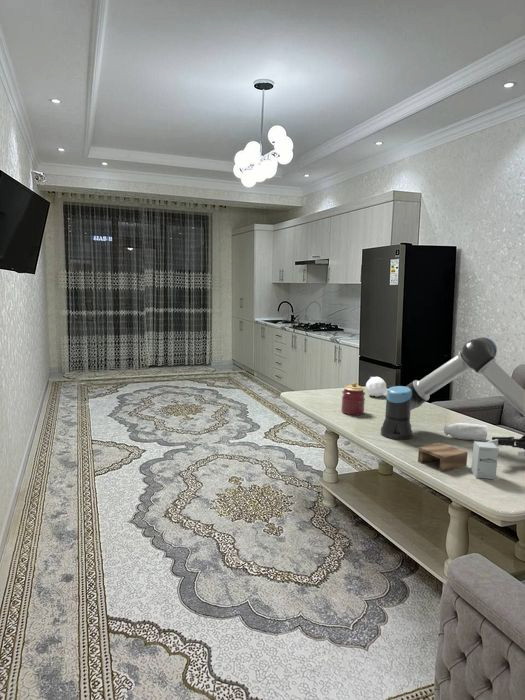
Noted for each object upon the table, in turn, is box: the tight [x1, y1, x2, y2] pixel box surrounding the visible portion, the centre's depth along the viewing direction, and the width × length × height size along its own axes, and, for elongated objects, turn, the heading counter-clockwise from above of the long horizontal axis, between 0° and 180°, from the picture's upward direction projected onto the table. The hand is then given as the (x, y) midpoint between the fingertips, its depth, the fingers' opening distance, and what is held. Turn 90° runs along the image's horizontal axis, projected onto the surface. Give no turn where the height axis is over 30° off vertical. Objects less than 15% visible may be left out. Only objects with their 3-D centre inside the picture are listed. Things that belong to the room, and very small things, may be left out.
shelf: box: [417, 442, 469, 473], centre depth 201 cm, size 13×14×6 cm
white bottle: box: [443, 422, 488, 442], centre depth 235 cm, size 8×19×8 cm, turn 76°
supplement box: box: [470, 441, 500, 480], centre depth 189 cm, size 7×7×13 cm
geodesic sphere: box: [365, 375, 387, 398], centre depth 322 cm, size 14×14×14 cm
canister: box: [341, 382, 366, 416], centre depth 278 cm, size 13×13×18 cm
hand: (502, 449), depth 194 cm, fingers open, 13 cm apart
